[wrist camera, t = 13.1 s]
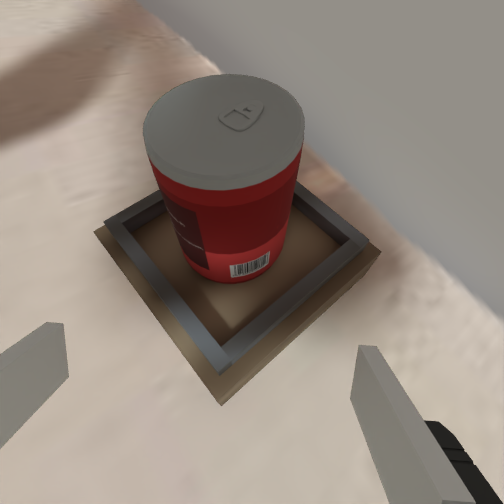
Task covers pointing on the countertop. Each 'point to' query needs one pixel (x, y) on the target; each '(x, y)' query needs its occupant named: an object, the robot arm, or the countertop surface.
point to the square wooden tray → (238, 286)
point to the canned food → (227, 170)
